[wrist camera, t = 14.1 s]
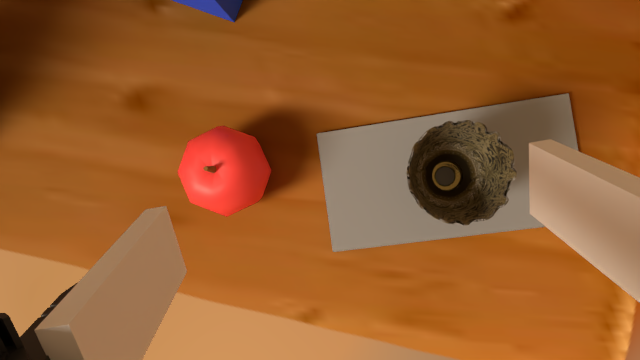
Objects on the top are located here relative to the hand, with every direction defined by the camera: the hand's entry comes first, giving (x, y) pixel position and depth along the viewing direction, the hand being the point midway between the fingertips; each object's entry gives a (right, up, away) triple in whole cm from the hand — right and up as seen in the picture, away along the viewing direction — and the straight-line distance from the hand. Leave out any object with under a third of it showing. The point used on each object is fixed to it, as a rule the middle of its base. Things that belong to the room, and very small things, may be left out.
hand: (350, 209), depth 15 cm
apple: (-9, +2, +26) cm, 27 cm away
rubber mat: (+10, +1, +23) cm, 25 cm away
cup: (+10, +1, +22) cm, 25 cm away
